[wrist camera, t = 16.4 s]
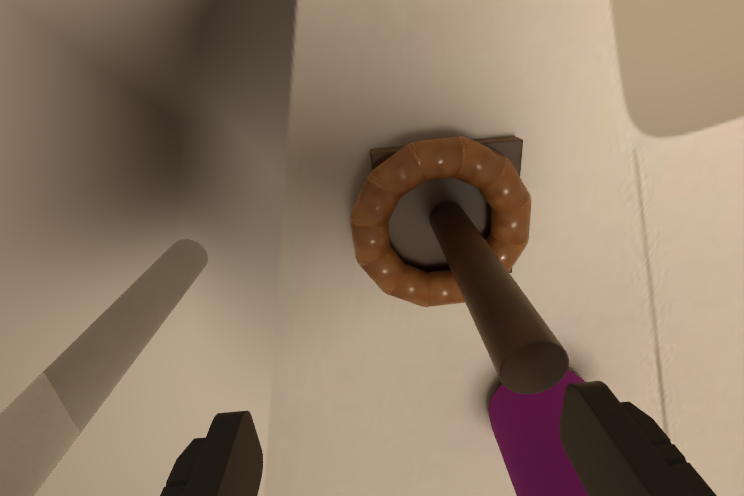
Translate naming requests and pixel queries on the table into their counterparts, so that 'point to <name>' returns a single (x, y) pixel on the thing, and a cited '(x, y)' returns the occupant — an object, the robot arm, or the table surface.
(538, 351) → the peg stand
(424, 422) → the table surface
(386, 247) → the ring
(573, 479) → the beverage can
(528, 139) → the table surface
